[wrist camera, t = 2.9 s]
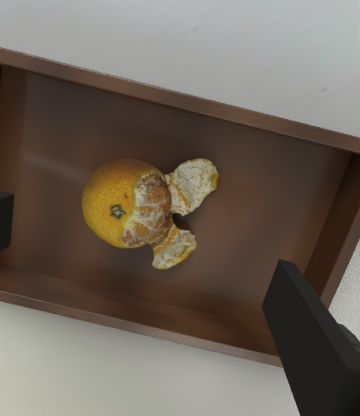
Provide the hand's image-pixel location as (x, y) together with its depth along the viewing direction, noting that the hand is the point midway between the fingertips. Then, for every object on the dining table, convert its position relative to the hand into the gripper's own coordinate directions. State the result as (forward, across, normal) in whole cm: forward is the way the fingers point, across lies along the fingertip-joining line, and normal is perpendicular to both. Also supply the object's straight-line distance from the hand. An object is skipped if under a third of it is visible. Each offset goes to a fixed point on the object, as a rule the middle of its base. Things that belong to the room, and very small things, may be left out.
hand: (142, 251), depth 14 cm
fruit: (+7, 0, 0) cm, 7 cm away
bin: (+7, 0, 0) cm, 7 cm away
